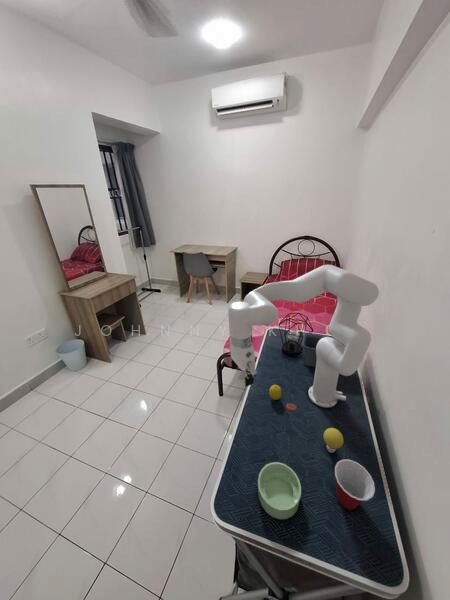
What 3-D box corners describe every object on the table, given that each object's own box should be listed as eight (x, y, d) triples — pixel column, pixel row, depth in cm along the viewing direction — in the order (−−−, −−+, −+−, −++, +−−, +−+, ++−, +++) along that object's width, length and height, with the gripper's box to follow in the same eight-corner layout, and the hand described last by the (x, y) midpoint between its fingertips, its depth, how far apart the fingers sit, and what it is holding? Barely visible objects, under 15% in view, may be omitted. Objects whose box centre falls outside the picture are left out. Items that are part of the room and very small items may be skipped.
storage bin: (298, 367, 129) (301, 345, 123) (302, 350, 142) (304, 329, 135) (342, 377, 121) (347, 354, 115) (342, 358, 134) (346, 337, 127)
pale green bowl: (300, 479, 81) (301, 468, 79) (298, 527, 70) (300, 517, 68) (261, 467, 85) (262, 457, 83) (254, 511, 74) (254, 501, 72)
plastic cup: (371, 524, 70) (381, 503, 65) (332, 516, 72) (338, 495, 67) (360, 483, 79) (368, 461, 74) (326, 476, 82) (331, 455, 76)
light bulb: (331, 462, 86) (335, 445, 81) (317, 446, 91) (320, 429, 86) (344, 453, 88) (349, 435, 84) (329, 437, 94) (333, 420, 89)
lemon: (267, 394, 114) (268, 382, 110) (279, 393, 114) (279, 380, 111) (270, 404, 109) (271, 391, 105) (282, 402, 109) (283, 390, 106)
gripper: (265, 347, 74) (264, 387, 82) (237, 322, 88) (239, 358, 96) (245, 355, 72) (246, 396, 79) (219, 328, 85) (222, 365, 93)
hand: (242, 375), depth 88 cm, fingers open, 9 cm apart
